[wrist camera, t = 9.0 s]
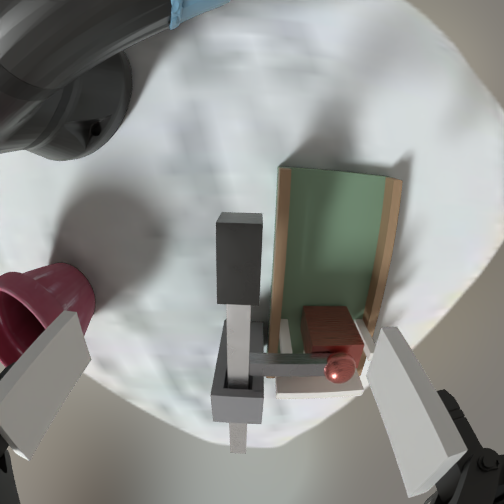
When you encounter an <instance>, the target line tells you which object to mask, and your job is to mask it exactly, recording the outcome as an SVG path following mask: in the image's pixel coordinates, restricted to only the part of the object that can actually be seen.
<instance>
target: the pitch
mask: <svg viewBox="0 0 504 504" xmlns="http://www.w3.org/2000/svg"><path fill="white" fill-rule="evenodd" d="M402 182H403V181H402V180H399V179H395V178H392V177H389V176H381V175H373V174H364V173H355V172H345V171H335V170H323V169H311V168H296V167H278V174H277V196H276V216H275V234H274V252H273V269H272V284H271V300H270V314H269V328H268V342H267V353H289V354H303V351H304V346H303V340H302V335H301V330H300V326H301V318H302V311H303V306H347V308H348V310H349V312H350V315H351V317H352V319H353V321H354V323H355V325H356V327H357V329H358V331H359V334H360V336H361V338H362V340H363V342H364V344H365V345H364V349H363V352H362V355H361V359H360V362H359V365H358V368H356V370H355V373H354V375H353V377H352V378H351V379H350V380H349V381H347V382H345V383H342V384H335V383H332V382H330V381H329V380H328V379H327V378H326V377H325V376H304V377H276V376H266V378H275V384H276V399H315V398H335V397H349V396H361V395H362V393H363V391H364V388H363V386H362V383H361V380H360V377H359V376H360V375H361V372H362V369H363V366H364V363H365V360H366V357H367V359H368V361H369V360H372V357H373V353H374V350H375V347H376V345H375V343H374V341H373V339H372V337H373V333H374V330H375V326H376V322H377V319H378V315H379V311H380V307H381V303H382V299H383V294H384V290H385V286H386V281H387V277H388V272H389V267H390V262H391V257H392V252H393V246H394V240H395V234H396V228H397V222H398V215H399V207H400V200H401V191H402ZM249 353H263V322H250V351H249ZM263 400H264V376H249V380H248V390H246V389H228V365H227V321H224V326H223V332H222V337H221V342H220V347H219V353H218V358H217V363H216V369H215V374H214V380H213V385H212V391H211V404H212V415H213V421H215V422H228V423H246V424H261V422H262V411H263Z"/></svg>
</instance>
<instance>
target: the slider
mask: <svg viewBox="0 0 504 504" xmlns="http://www.w3.org/2000/svg"><path fill="white" fill-rule="evenodd" d="M262 230H263V217H262V214H261V213H231V212H222V213H221V215H220V216H219V218H218V220H217V222H216V265H217V304H226V308H227V365H228V389H246V390H248V380H249V376H276V377H304V376H325V377H326V378H327V379H328V380H329V381H330V382H332V383H335V384H342V383H345V382H347V381H349V380H350V379H351V378H352V377H353V375H354V373H355V370H356V368H358V365H359V362H360V359H361V355H362V352H363V349H364V345H365V344H364V342H363V340H362V338H361V336H360V334H359V331H358V329H357V327H356V325H355V323H354V321H353V319H352V317H351V315H350V312H349V310H348V308H347V306H303V311H302V318H301V326H300V330H301V335H302V340H303V346H304V351H305V354H289V353H249V351H250V321H251V305H255V306H259V296H260V275H261V253H262ZM229 428H230V451H231V453H246V438H247V424H246V423H229Z"/></svg>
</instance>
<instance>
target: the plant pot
mask: <svg viewBox="0 0 504 504" xmlns="http://www.w3.org/2000/svg"><path fill="white" fill-rule="evenodd" d="M64 310H66V311H72V312H77V315H78V318H79V322H80V325H81V329H82V332H83V335H85V332H86V330H87V328H88V325H89V323H90V320H91V318H92V315H93V313H94V310H95V296H94V292H93V289H92V287H91V285H90V283H89V282H88V280H87V279H86V277H85V276H84V275H83V274H82V273H81V272H80V271H79V270H78V269H77V268H75V267H73V266H71V265H69V264H66V263H55V264H52V265H48V266H45V267H41V268H38V269H34V270H31V271H28V272H25V273H23V274H22V273H18V272H8V273H5V274H3V275H1V276H0V361H1V363H2V364H3V365H4V366H5V367H7V366H9V365H10V364H12V363H13V362H16V361H17V360H18V359H19V358H20V357H21V356H22V355H23V354H24V352H25V351H26V350H27V349H28V348H29V347H30V346H31V345H32V344H33V342H34V341H35V340H36V339H37V338H38V337H39V336H40V335H41V334H42V333H43V332H44V331H45V330H46V328H47V327H48V326H49V325H50V324H51V323H52V322H53V321H54V320H55V319H56V318H57V317H58V316H59V315H60V314H61V313H62V312H63V311H64Z"/></svg>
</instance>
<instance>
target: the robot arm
mask: <svg viewBox="0 0 504 504" xmlns="http://www.w3.org/2000/svg"><path fill="white" fill-rule="evenodd" d="M229 1H231V0H0V154H1V153H6V152H12V151H18V150H27V151H29V152H32V153H34V154H37V155H39V156H42V157H44V158H47V159H50V160H55V161H67V160H73V159H79V158H82V157H85V156H87V155H90V154H91V153H93V152H95V151H96V150H98V149H99V148H100V147H102V146H103V145H104V144H105V143H106V142H107V141H108V140H109V139H110V138H111V137H112V135H113V134H114V133H115V131H116V130H117V128H118V127H119V125H120V123H121V122H122V120H123V118H124V116H125V113H126V111H127V108H128V105H129V101H130V97H131V91H132V72H131V67H130V64H129V61H128V59H127V57H126V55H125V53H124V52H123V51H122V50H124V49H126V48H128V47H130V46H132V45H134V44H136V43H138V42H140V41H142V40H144V39H146V38H148V37H151V36H153V35H155V34H157V33H160V32H162V31H164V30H167V29H169V28H170V30H172V29H175V28H177V27H178V26H179V24H180V23H182V22H184V21H186V20H188V19H191V18H193V17H195V16H197V15H200V14H202V13H204V12H207V11H210V10H212V9H215V8H218V7H220V6H223V5H225V4H226V3H228V2H229ZM90 361H91V357H90V354H89V351H88V348H87V345H86V342H85V339H84V335H83V332H82V329H81V325H80V322H79V318H78V315H77V312H72V311H66V310H64V311H63V312H62V313H61V314H60V315H59V316H58V317H57V318H56V319H55V320H54V321H53V322H52V323H51V324H50V325H49V326H48V327H47V328H46V330H45V331H44V332H43V333H42V334H41V335H40V336H39V337H38V338H37V339H36V340H35V341H34V342H33V344H32V345H31V346H30V347H29V348H28V349H27V350H26V351H25V352H24V354H23V355H22V356H21V357H20V358H19V359H18V360H17V361H16V362H13V363H12V364H10V365H9V366H7V367H6V368H5V369H4V370H3V371H2V372H1V373H0V504H20V500H19V497H18V493H17V489H16V485H15V480H14V475H13V470H12V465H11V459H10V455H9V452H8V450H7V447H8V446H10V447H11V448H12V449H13V451H14V452H15V453H16V454H18V455H19V456H21V457H23V458H25V459H27V460H29V461H30V460H31V458H32V456H33V454H34V452H35V451H36V449H37V447H38V445H39V444H40V442H41V440H42V438H43V437H44V435H45V433H46V431H47V430H48V428H49V426H50V424H51V423H52V421H53V419H54V417H55V416H56V414H57V413H58V411H59V409H60V408H61V406H62V405H63V403H64V401H65V400H66V398H67V396H68V395H69V393H70V392H71V390H72V389H73V387H74V385H75V384H76V382H77V380H78V379H79V378H80V376H81V374H82V373H83V371H84V370H85V368H86V367H87V365H88V364H89V362H90ZM366 377H367V379H368V382H369V385H370V387H371V390H372V392H373V395H374V398H375V400H376V403H377V406H378V408H379V411H380V414H381V417H382V419H383V422H384V425H385V428H386V430H387V433H388V436H389V439H390V442H391V445H392V448H393V451H394V454H395V457H396V460H397V463H398V465H399V469H400V472H401V475H402V478H403V481H404V485H405V488H406V491H407V494H408V497H413V496H416V495H419V494H422V493H425V492H427V491H428V490H430V489H431V488H432V487H433V486H434V485H436V488H437V491H436V492H435V493H434V494H433V495H431V496H430V497H429V498H428V499H427V500H426V501H425V503H424V504H427V503H428V502H430V501H431V502H430V504H504V455H498V454H497V453H496V452H495V451H494V450H492V449H489V448H483V447H482V446H481V444H480V443H479V441H478V439H477V437H476V435H475V433H474V432H473V430H472V428H471V426H470V424H469V422H468V421H467V419H466V418H465V417H464V414H463V412H462V410H460V407H459V405H458V403H457V402H456V400H455V399H454V397H453V396H452V395H451V394H449V393H448V392H447V391H446V390H445V389H444V390H439V391H436V389H435V388H434V386H433V384H432V383H431V381H430V379H429V377H428V376H427V374H426V373H425V371H424V369H423V367H422V366H421V364H420V362H419V361H418V359H417V358H416V356H415V354H414V353H413V351H412V349H411V348H410V346H409V345H408V343H407V342H406V340H405V338H404V337H403V335H402V334H401V332H400V331H399V329H398V328H397V327H383V328H381V330H380V334H379V337H378V340H377V344H376V347H375V350H374V353H373V357H372V360H371V363H370V366H369V369H368V372H367V375H366Z"/></svg>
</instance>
